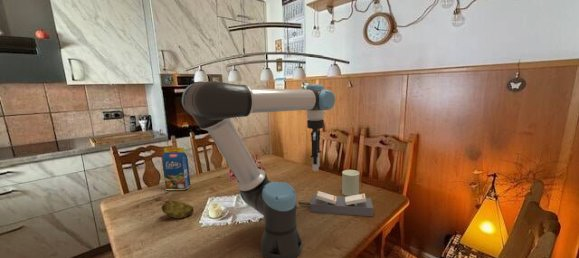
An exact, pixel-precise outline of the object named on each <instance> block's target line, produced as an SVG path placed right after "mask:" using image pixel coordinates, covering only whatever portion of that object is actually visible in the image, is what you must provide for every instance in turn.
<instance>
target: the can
mask: <svg viewBox="0 0 579 258" xmlns="http://www.w3.org/2000/svg"><path fill="white" fill-rule="evenodd" d="M341 175H342V177H341V184H342V185H341V186H342V188H341V193H342V195H344V196H345V197H348V196H353V195H358V194H360V171H359V170H355V169H345V170H343V171H342V172H341Z"/></svg>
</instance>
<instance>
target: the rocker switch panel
mask: <svg viewBox="0 0 579 258" xmlns="http://www.w3.org/2000/svg"><path fill="white" fill-rule="evenodd" d="M336 196H337V197H336V204H332V203H329V202H326V201H323V200H319V199H316V197H317V194H311V199H310V201H309V202H304V201H299V202H298V205H301V206H302V205H303V206H309V212H310V213H318V214H330V215H331V214H333V215H334V214H335V215H344V216H345V215H347V216H357V217H358V216H362V217H374V205H373V203H372V198H371V197H365V198H366V202H361V203H355V204H350V205H346V203H345V197H346V196H339V195H336Z"/></svg>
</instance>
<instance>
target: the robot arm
mask: <svg viewBox="0 0 579 258" xmlns="http://www.w3.org/2000/svg"><path fill="white" fill-rule="evenodd" d="M335 96H336V95H335V93H334V92H333V91H332V90H330V89H324V85H323V84H319V83H318V84H307V85H306V89H303V88H302V89H296V88H295V89H294V88H257V87H256V88H251V87H249V86H248V85H247V84H237V83H228V82H223V81H219V80H218V81H216V80H209V81H197V82H194V83H191V84H190V85H188V86H187V87H186V88H185V89H184V91H183V92H182V97H181V104H182V107H183V109H184V110H185V111H186V112H185V113H187V114H188V115H190V116H192V117H193V119H194V121H195V122H196V124H197V126H198V127H199V129H200V130H203V131H207V133H208V134H209V136H210V138H211V139H212V141H213V142H214V144H215V145H216V147H217V148H218V150H219V152H220V153H221V155H222V156H223V158H224V160H225V161H226V164H228V166H229V168H230V169H231V171H232V172H233V174H234V176H235V178H236V179H237V180H238V183H237V188H238V190H239V195H240V197H241V199H242V200H243V202H244V203H245V204H247V205H248V206H250V207H251V208H253V209H254V210H255V211H257V213H259V214H261V215H262V217H263V223H264V224H263V225H264V227H263V229H264V231H263V233H262V237H261V241H260V253H261V255H262V257H264V258H297V257H298V256H299V255H300V254H301V253H302V250H303V241H302V237H301V234H300V232H299V230H298V224H297V221H298V220H297V193H296V190H295V188H294V187H293V186H292V185H290V184H289V183H287V182H284V181H282V182H281V181H272V182H271V181H270V179H269V177H268V175H267V173H266V172H265V170H264V169H261V168H259V167H258V165H257V164H256V162H255V161H254V159H253V157H252V155H251V153H250V152H249V149H248V148H247V147H246V145H245V143H244V141H243V139H242V138H241V136H240V133H239V132H238V131H237V129H236V127H235V125H234V123H233V121H232V120H231V119H235V118H242V117H243V118H246V117H248V116H250V115H251V114H255V113H257V114H258V113H259V114H261V113H271V112H272V113H276V112H277V113H278V112H294V111H295V112H298V111H306V119H307V121H306V122H307V123H306V124H307V126H306V128H307V129H311V130H312V131H311V132H310V138H311V140H310V141H311V155H310V158H311V159H312V160H311V161H312V162H311V163H312V164H311V165H312V167H311V168H312V169H311V170H312V172H319V167H320V166H321V165H320V162H321V161H320V158H321V157H320V154H321V153H322V151H321V150H320V149H321V148H320V140H321V131H320V130H321V129H323V128H325V120H324V117H325V114H326V112H325V111H330V110H332V109H333V108H334V106H335V103H336V97H335Z"/></svg>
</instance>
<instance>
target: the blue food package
mask: <svg viewBox="0 0 579 258" xmlns="http://www.w3.org/2000/svg"><path fill="white" fill-rule="evenodd" d="M163 151H164V152H163V155H162V158H161V159H162V169H163V176H164V177H163V178H164V185H165V190H166V189H186V188H187V187H188V186H189V185H191V178H190V177H191V176H190V168H189V161H188V159H189V158H188V156H187V154H186V152H185V148H184V147H164V148H163Z"/></svg>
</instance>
